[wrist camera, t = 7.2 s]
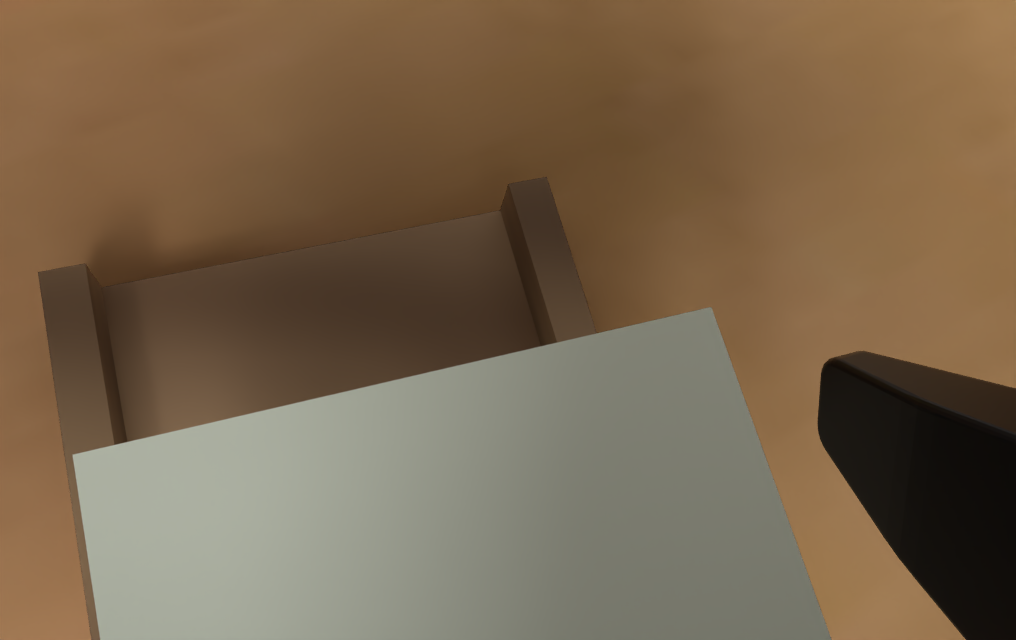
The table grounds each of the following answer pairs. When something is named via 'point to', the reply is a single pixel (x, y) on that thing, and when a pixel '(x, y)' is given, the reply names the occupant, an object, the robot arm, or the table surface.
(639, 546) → the pale green recessed block
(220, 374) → the wooden tray
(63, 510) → the table surface
